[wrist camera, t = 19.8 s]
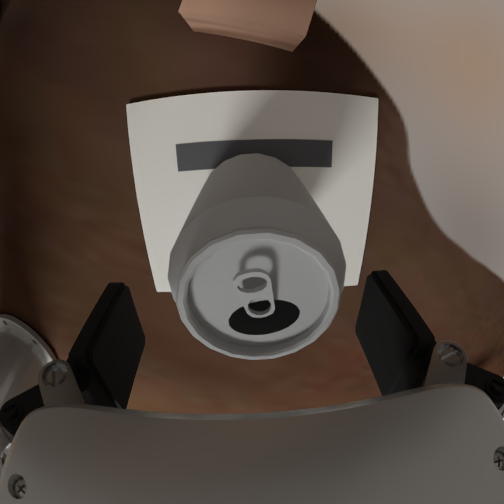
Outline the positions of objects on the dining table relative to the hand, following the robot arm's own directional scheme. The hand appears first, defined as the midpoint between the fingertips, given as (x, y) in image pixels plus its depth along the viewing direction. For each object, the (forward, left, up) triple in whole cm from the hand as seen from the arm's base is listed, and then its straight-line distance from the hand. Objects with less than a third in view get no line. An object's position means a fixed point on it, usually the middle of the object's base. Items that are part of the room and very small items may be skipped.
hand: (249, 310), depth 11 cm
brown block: (+16, -1, -12) cm, 20 cm away
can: (0, 0, -12) cm, 12 cm away
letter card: (0, -1, -12) cm, 12 cm away
